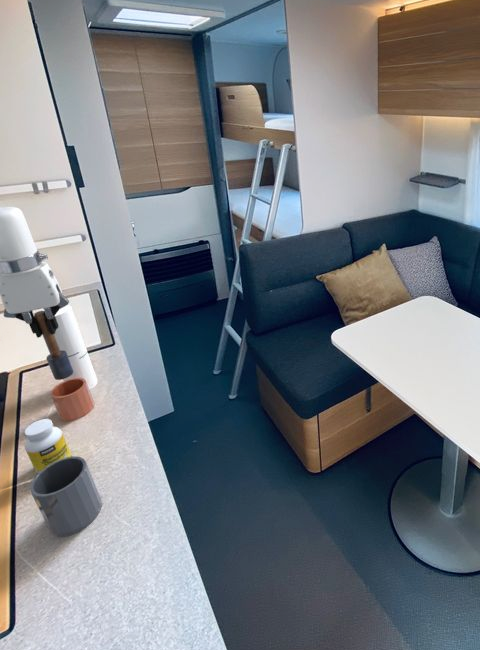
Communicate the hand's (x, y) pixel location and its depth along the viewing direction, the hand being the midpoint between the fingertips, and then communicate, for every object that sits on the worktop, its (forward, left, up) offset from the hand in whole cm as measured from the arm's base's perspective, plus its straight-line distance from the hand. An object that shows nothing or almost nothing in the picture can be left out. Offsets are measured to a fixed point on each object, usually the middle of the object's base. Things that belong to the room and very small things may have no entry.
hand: (47, 332), depth 98 cm
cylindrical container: (0, +11, -25) cm, 27 cm away
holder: (0, 0, -25) cm, 25 cm away
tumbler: (+4, -34, -25) cm, 42 cm away
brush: (0, 0, -13) cm, 13 cm away
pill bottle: (-2, -18, -25) cm, 31 cm away
